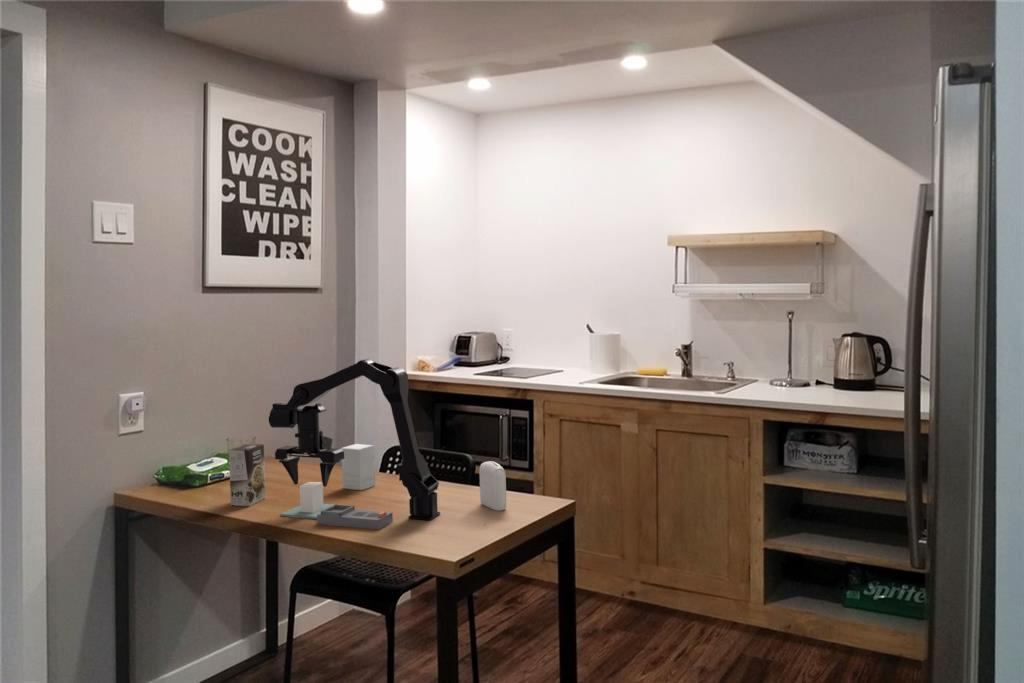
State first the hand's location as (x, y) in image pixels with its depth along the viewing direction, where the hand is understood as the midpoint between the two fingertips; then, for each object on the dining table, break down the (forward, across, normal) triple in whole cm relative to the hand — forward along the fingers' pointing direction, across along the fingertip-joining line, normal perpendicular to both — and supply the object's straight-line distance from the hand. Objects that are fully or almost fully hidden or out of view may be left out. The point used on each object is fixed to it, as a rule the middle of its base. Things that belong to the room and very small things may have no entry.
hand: (310, 485), depth 219 cm
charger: (+7, 0, 0) cm, 7 cm away
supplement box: (+8, +2, -28) cm, 29 cm away
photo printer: (+8, -46, -18) cm, 50 cm away
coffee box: (+8, +24, -4) cm, 25 cm away
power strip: (+7, -17, +6) cm, 20 cm away
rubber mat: (+7, 0, 0) cm, 7 cm away
